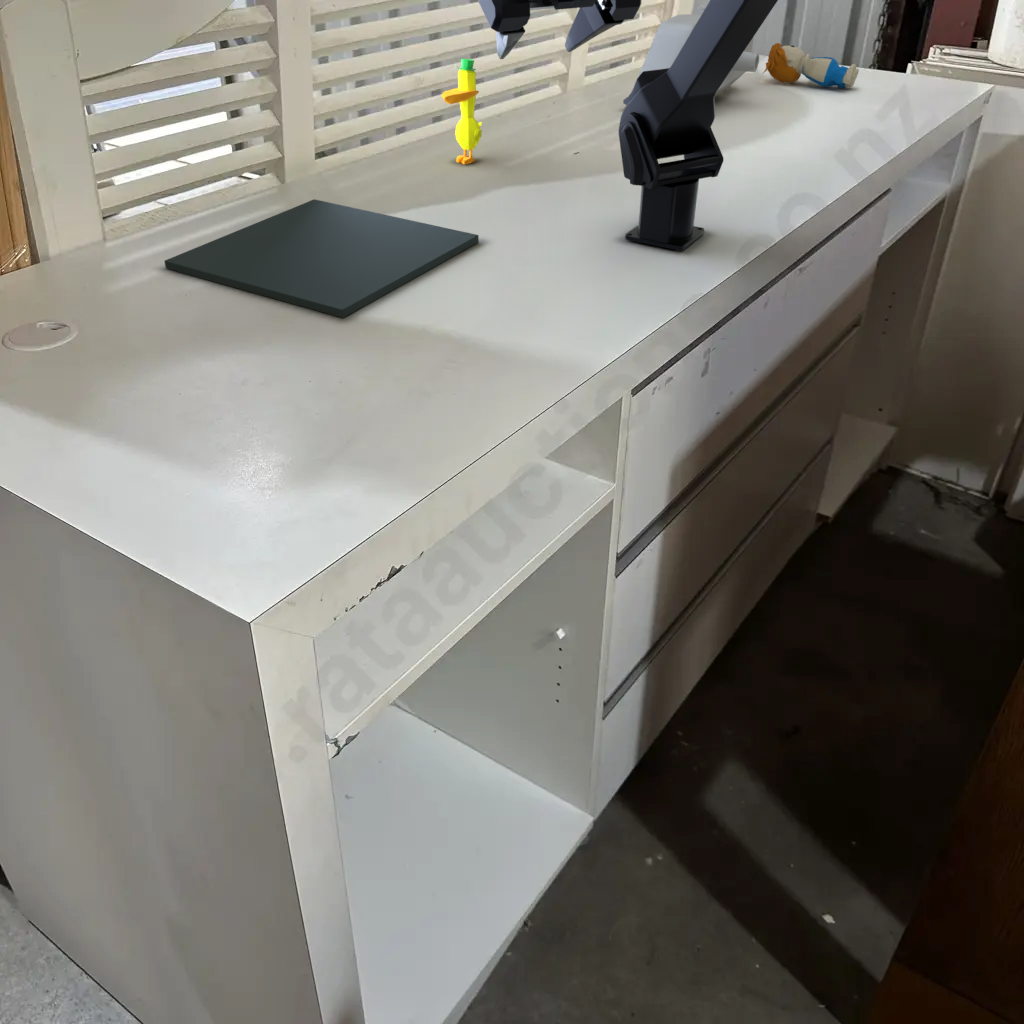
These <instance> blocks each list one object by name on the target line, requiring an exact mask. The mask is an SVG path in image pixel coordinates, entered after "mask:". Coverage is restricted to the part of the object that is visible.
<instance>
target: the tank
mask: <svg viewBox="0 0 1024 1024" xmlns="http://www.w3.org/2000/svg"><path fill="white" fill-rule="evenodd" d="M708 3H709V1H707V2H704V3H702V4H700V5H698V6H697V9H698V10H699V11H700V10H701V11H704V10H705V8H706V6H707V5H708ZM701 15H702V13H701V14H700V13H699V14H698V13H697V14H690V13H689V14H688V13H687V14H684V13H683V14H677V15H674V16H672V17H670V18H667V19H665V20H663V21H662V22H661V23H660V25H659V26H658V28H657V30H656V32H655V34H654V37H653V40H652V42H651V44H650V47H649V50H648V52H647V54H646V57H645V59H644V62H643V64H642V66H641V69H640V72H639V73H638V77H639V76H640V74H641V73H642V72H643V71H650V70H658V69H666V68H670V67H671V65H672V64H673V62H674V60H675V59H676V57H677V55H678V54H679V52H680V50H681V48H682V47H683V45H684V43H685V42H686V40H687V38H688V37H689V35H690V33H691V32H692V30H693V28H694V27H695V25H696V23H697V22H698V20H699V18H700V17H701ZM753 43H754V37H753V38H752V40H751V41H750V43H749V44H748V46H747V47H746V49H745V50H744V52H743V53H742V55H741V56H740V58H739V59H738V61H737V62H736V64H735V65H734V67H733V68H732V69H731V71H730V72H729V74H728V75H727V77H726V78H725V80H724V81H723V83H722V84H721V86H720V87H719V89H718V90H717V92H716V94H715V96H714V98H715V97H717V96H718V95H720V94H721V93H722V92H724V91H726V90H727V89H728V88H730V86H731V85H733V84H734V83H735V82H736V81H737V80H738V79H740V78H741V77H742V76H743V75H745V73H746V72H749V73H756V72H757V70H758V67H759V63H760V53H759V52H752V50H753V45H754V44H753ZM638 77H637V78H638Z"/></svg>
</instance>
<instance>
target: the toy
mask: <svg viewBox="0 0 1024 1024" xmlns="http://www.w3.org/2000/svg"><path fill="white" fill-rule="evenodd" d="M767 71H768V74H769V75H770V76H771V77H772V78H773V79H774V80H777V81H779V82H780V83H783V84H784V85H785V84H789V83H790V84H791V83H795V82H798V80H799V79H800V78H801V76H802V75H803V76H804V77H805V78H806V79H808V80H809V81H811V82H812V83H814V84H817V85H818V86H819V87H823V88H828V87H838V88H841V89H846V88H850V89H852V88H853V87H854V85H855V82H856V80H857V77H858V76H859V75H858V74H859V71H860V69H859V68H857V64H855V63H851V65H850V66H849V67H847V66H844V65H841V66H840V64H839V62H838V61H837V59H835V58H833V57H830V56H819V57H818V56H817V57H811V54H810V53H807V54H805V52H804V51H803V50H802V49H801V48H799V46H795V45H782V43H780V42H777V43H775V44H773V45H771V48H770V50H769V53H768V58H767V62H766V63H765V69H764V71H763V72H762V74H764V73H765V72H767Z"/></svg>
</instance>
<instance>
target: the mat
mask: <svg viewBox="0 0 1024 1024" xmlns="http://www.w3.org/2000/svg"><path fill="white" fill-rule="evenodd" d="M479 239H480V237H479V234H475V233H471V232H466V231H463V230H462V231H461V230H457V229H452V228H448V227H443V226H440V225H433V224H429V223H425V222H420V221H415V220H412V219H406V218H402V217H397V216H393V215H388V214H384V213H379V212H375V211H370V210H366V209H360V208H356V207H351V206H347V205H342V204H337V203H333V202H329V201H325V200H319V199H315V198H314V199H312V200H308V201H307V202H304V203H301V204H299V205H297V206H295V207H291V208H289V209H286V210H284V211H282V212H279V213H276V214H274V215H273V216H270V217H266V218H265V219H263V220H260V221H257V222H255V223H252V224H250V225H248V226H246V227H243V228H241V229H238V230H236V231H234V232H231V233H229V234H225V235H224V236H221V237H219V238H216V239H214V240H212V241H209V242H206V243H204V244H202V245H199V246H196V247H194V248H192V249H190V250H187V251H185V252H184V251H183V252H182V253H179V254H177V255H175V256H172V257H170V258H167V259H164V266H165V269H167V270H170V271H175V272H178V273H181V274H184V275H188V276H192V277H195V278H199V279H203V280H207V281H211V282H213V283H216V284H220V285H224V286H227V287H232V288H235V289H238V290H243V291H246V292H249V293H252V294H255V295H260V296H264V297H267V298H270V299H274V300H278V301H281V302H285V303H289V304H292V305H296V306H299V307H303V308H306V309H310V310H313V311H316V312H321V313H324V314H328V315H331V316H335V317H338V318H343V319H344V318H346V317H347V316H350V315H351V314H353V313H355V312H357V311H359V310H361V309H362V308H364V307H366V306H367V305H369V304H372V303H373V302H375V301H376V300H378V299H380V298H382V297H383V296H385V295H387V294H389V293H391V292H393V291H394V290H396V289H398V288H399V287H401V286H403V285H405V284H407V283H408V282H411V281H412V280H414V279H415V278H417V277H419V276H421V275H423V274H424V273H426V272H428V271H429V270H432V269H433V268H435V267H437V266H439V265H440V264H442V263H444V262H447V260H450V259H451V258H453V257H455V256H457V255H458V254H460V253H462V252H464V251H466V250H467V249H469V248H471V247H473V246H475V245H477V244H478V243H479V241H480V240H479Z"/></svg>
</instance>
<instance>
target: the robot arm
mask: <svg viewBox="0 0 1024 1024" xmlns="http://www.w3.org/2000/svg"><path fill="white" fill-rule="evenodd" d="M778 1H779V0H709V1H708V2H709V3H708V5H707V6H706V8H705V10H702V13H701V14H702V15H701V17H700V18H699V20H698V22H697V23H696V25H695V27H694V28H693V30H692V32H691V33H690V35H689V37H688V38H687V40H686V42H685V43H684V45H683V47H682V48H681V50H680V52H679V54H678V55H677V57H676V59H675V60H674V62H673V64H672V65H671V67H670V68H666V69H658V70H650V71H643V72H642V73H641V74H640V73H639V74H640V76H639V75H638V76H639V77H637V78H636V80H635V83H634V85H633V88H632V90H631V92H630V94H629V95H627V97H626V98H624V99H623V100H622V103H623V104H624V105H626V106H625V107H624V109H623V111H622V114H621V116H620V119H619V125H618V137H619V146H620V154H621V155H620V156H621V163H622V171H623V177H624V178H625V179H627V180H629V184H631V185H632V186H639V187H641V189H640V200H639V212H638V213H639V214H638V225H637V226H635V227H633V228H632V229H631V230H629V231H628V232H626V233H625V234H624V240H626V241H630V242H635V243H641V244H645V245H651V246H654V247H660V248H663V249H664V248H665V249H669V250H675V251H683V250H685V249H686V248H687V247H689V246H690V245H692V243H694V242H695V241H696V240H697V239H699V238H700V237H701V236H703V235H704V234H705V228H704V227H701V226H695V217H696V209H697V201H698V191H699V183H700V180H702V179H706V178H717V177H718V176H719V173H720V171H721V169H722V165H723V164H724V159H725V158H724V156H723V152H722V151H721V149H720V146H719V144H718V141H717V138H716V137H715V134H714V131H713V130H712V126H713V123H714V121H715V119H716V105H715V104H716V103H715V97H716V96H715V94H716V92H717V90H718V89H719V87H720V86H721V84H722V83H723V81H724V80H725V78H726V77H727V75H728V74H729V72H730V71H731V69H732V68H733V67H734V65H735V64H736V62H737V61H738V59H739V58H740V56H741V55H742V53H743V52H744V50H745V49H746V47H747V46H748V44H749V43H750V41H751V40H752V38H753V39H754V38H755V35H756V34H757V32H758V31H759V29H760V28H761V27H762V25H763V23H764V22H765V20H766V19H767V18H768V16H769V14H770V13H771V12H772V10H773V9H774V7H775V5H776V4H777V3H778ZM477 2H478V4H479V6H480V8H481V10H482V12H483V15H484V17H485V19H486V21H487V23H488V25H489V28H490V29H491V30H493V31H495V38H496V39H495V40H496V53H497V57H498V58H499V60H504V59H505V58H506V57H507V56H508V55H509V54H510V53H511V51H512V50H513V49H514V48H515V46H516V45H517V43H518V42H519V41H520V40H521V38H522V37H523V36H524V34H525V33H526V29H525V26H526V25H527V24H528V22H529V20H530V18H531V11H540V10H551V9H554V10H555V11H558V10H567V9H568V10H569V9H578V10H577V13H576V16H575V18H574V20H573V22H572V24H571V27H570V29H569V31H568V34H567V36H566V40H565V43H564V47H565V49H566V51H567V53H571V52H573V51H575V50H577V49H578V48H580V47H581V46H582V45H584V44H586V43H588V42H589V41H590V40H592V39H594V38H596V37H597V36H599V35H601V34H603V33H604V32H606V31H608V30H610V29H612V28H613V27H615V26H619V25H620V26H621V25H622V24H623V23H624V21H626V20H634V18H635V17H636V15H637V13H638V11H639V10H640V7H641V6H642V0H477ZM714 96H715V97H714ZM680 156H683V159H678V160H671V161H666V162H661V163H659V161H658V160H663V159H668V158H674V157H675V158H676V157H680Z"/></svg>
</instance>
